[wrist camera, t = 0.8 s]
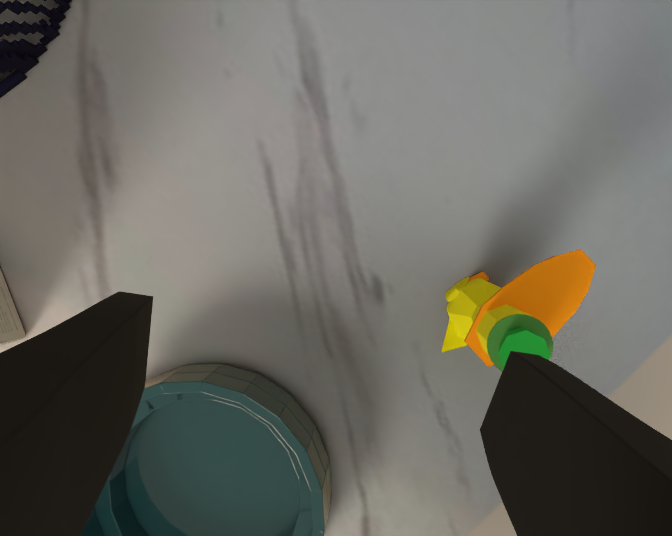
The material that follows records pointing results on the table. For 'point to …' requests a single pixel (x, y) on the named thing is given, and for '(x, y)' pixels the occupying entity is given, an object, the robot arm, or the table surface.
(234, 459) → the glazed bowl
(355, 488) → the table surface
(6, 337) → the cosmetic box
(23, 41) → the decorative bowl
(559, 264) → the toy figure
